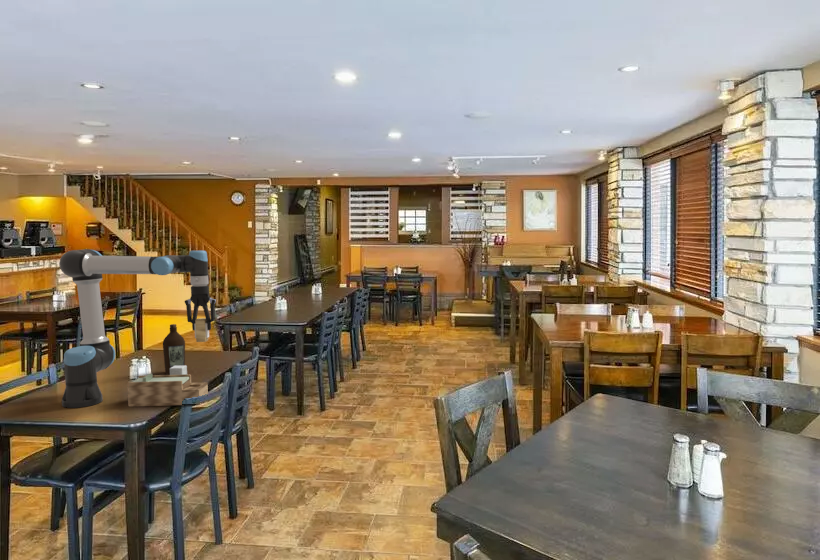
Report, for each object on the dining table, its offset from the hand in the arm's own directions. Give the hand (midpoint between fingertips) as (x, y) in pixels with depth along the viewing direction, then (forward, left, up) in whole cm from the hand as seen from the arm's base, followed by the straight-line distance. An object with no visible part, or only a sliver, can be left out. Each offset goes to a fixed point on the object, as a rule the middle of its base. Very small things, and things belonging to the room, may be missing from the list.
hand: (202, 337), depth 261 cm
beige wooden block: (0, 0, -2) cm, 2 cm away
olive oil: (-26, +38, -25) cm, 53 cm away
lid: (-14, -14, -17) cm, 26 cm away
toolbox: (-11, -14, -25) cm, 30 cm away
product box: (-18, +20, -25) cm, 37 cm away
